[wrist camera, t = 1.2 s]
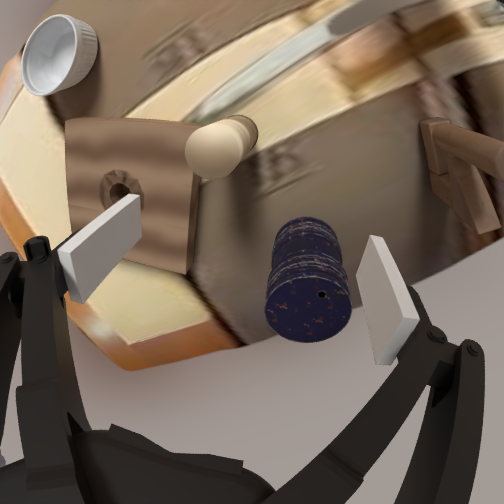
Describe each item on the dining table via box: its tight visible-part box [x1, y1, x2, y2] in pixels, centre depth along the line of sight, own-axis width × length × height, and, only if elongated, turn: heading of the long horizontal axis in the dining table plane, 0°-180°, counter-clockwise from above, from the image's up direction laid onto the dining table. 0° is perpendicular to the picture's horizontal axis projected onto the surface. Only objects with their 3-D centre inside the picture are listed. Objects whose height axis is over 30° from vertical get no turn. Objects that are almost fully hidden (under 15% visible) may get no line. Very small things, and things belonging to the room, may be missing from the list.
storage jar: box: [264, 217, 352, 343], centre depth 38 cm, size 10×10×15 cm
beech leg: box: [185, 115, 258, 180], centre depth 30 cm, size 5×5×16 cm
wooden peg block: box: [419, 117, 504, 235], centre depth 26 cm, size 4×11×18 cm, turn 21°
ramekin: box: [21, 15, 98, 96], centre depth 29 cm, size 13×13×7 cm
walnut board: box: [65, 117, 207, 275], centre depth 41 cm, size 22×22×4 cm
